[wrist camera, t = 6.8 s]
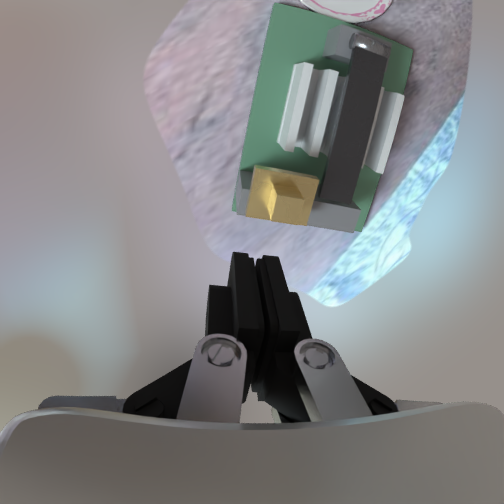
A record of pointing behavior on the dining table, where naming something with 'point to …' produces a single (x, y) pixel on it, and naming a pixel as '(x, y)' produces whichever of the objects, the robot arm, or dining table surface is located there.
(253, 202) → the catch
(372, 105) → the strap
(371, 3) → the teacup
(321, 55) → the board
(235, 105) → the dining table surface
